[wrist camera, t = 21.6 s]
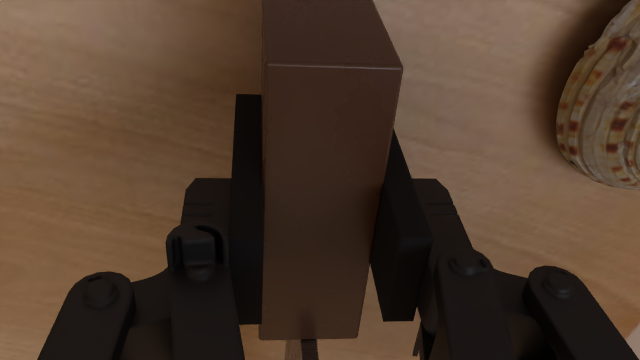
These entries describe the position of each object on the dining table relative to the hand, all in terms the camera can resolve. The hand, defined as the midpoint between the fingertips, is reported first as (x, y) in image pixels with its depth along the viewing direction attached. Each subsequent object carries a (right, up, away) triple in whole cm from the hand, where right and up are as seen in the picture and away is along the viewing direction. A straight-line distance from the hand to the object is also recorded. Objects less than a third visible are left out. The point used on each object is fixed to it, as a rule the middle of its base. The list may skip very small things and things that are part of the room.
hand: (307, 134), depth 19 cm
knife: (-1, -5, +4) cm, 7 cm away
